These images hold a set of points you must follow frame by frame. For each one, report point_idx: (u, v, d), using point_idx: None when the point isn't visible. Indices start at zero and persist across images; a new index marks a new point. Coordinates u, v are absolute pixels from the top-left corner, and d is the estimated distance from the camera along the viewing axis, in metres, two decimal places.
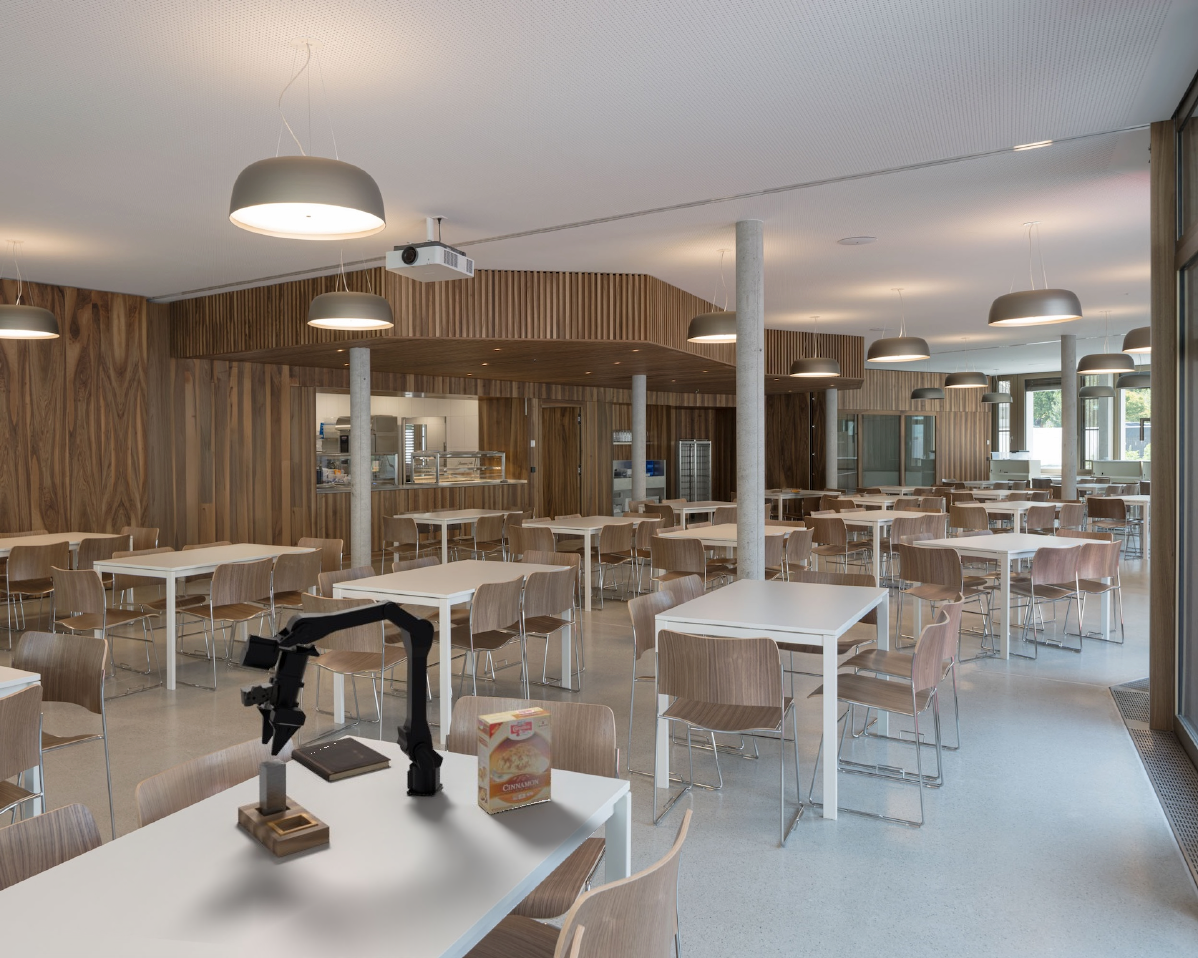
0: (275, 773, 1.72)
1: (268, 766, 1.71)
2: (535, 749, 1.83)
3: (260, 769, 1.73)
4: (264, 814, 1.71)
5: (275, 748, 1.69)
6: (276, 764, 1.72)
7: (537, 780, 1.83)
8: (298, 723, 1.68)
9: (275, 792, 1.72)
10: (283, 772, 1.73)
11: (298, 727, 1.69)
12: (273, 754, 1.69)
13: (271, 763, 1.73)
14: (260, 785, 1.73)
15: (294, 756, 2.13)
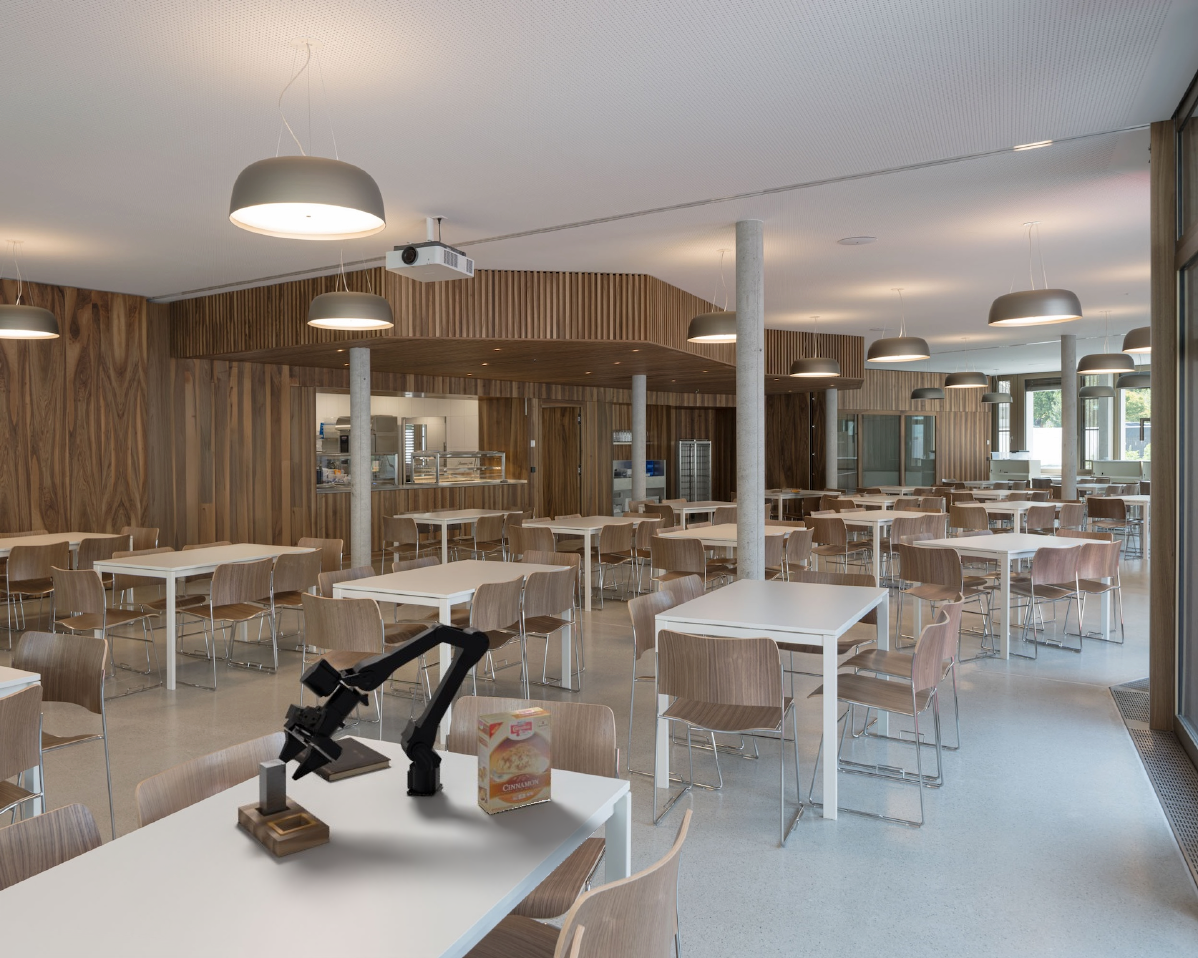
0: (275, 773, 1.72)
1: (268, 766, 1.71)
2: (535, 749, 1.83)
3: (260, 769, 1.73)
4: (264, 814, 1.71)
5: (298, 773, 1.72)
6: (276, 764, 1.72)
7: (537, 780, 1.83)
8: (334, 757, 1.73)
9: (274, 792, 1.72)
10: (283, 772, 1.73)
11: (330, 761, 1.73)
12: (294, 778, 1.72)
13: (271, 763, 1.73)
14: (260, 785, 1.73)
15: None
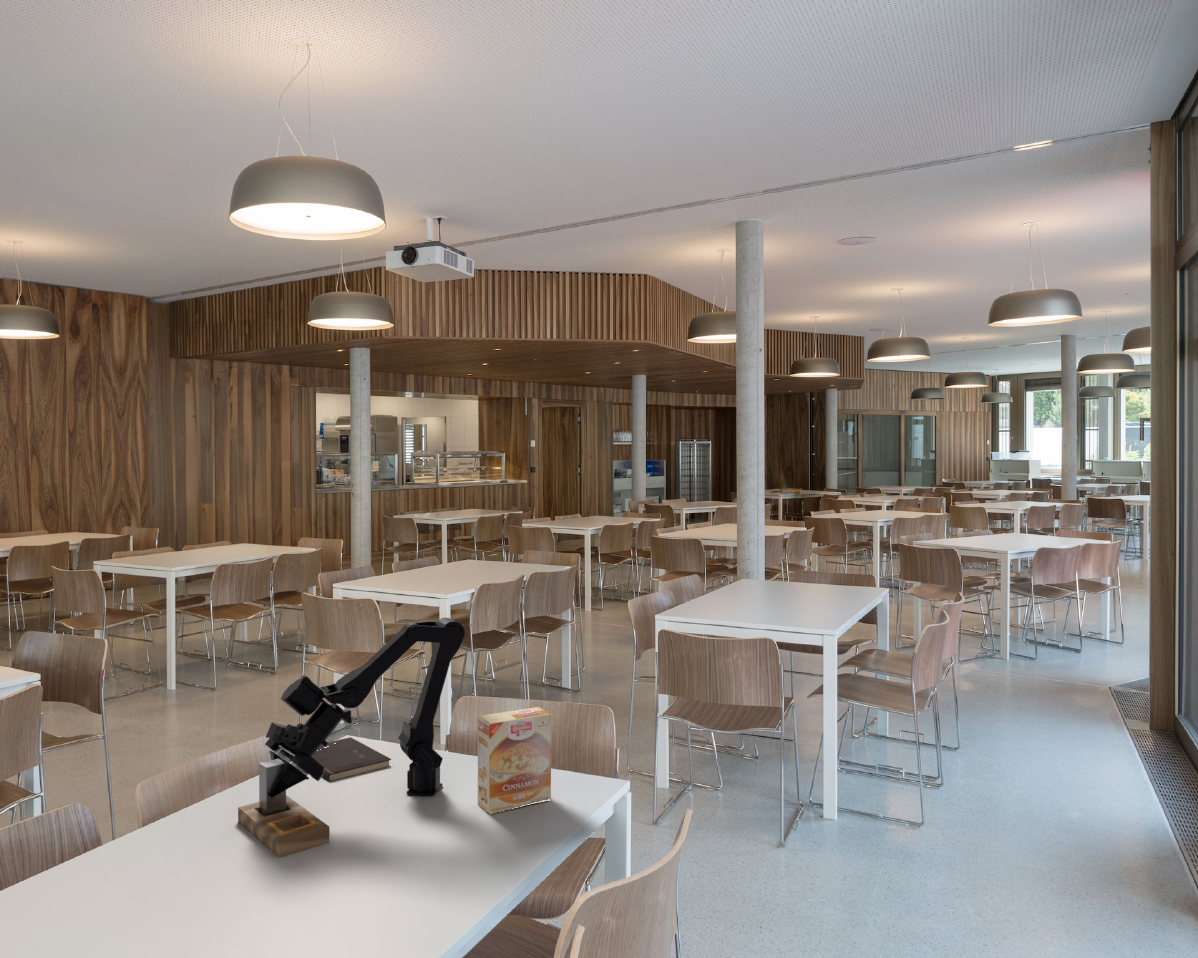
0: (275, 773, 1.72)
1: (268, 766, 1.71)
2: (535, 749, 1.83)
3: (260, 769, 1.73)
4: (264, 814, 1.71)
5: (275, 790, 1.71)
6: (276, 764, 1.72)
7: (537, 780, 1.83)
8: (316, 777, 1.70)
9: None
10: None
11: (307, 778, 1.73)
12: (270, 795, 1.71)
13: (271, 763, 1.73)
14: (260, 785, 1.73)
15: None
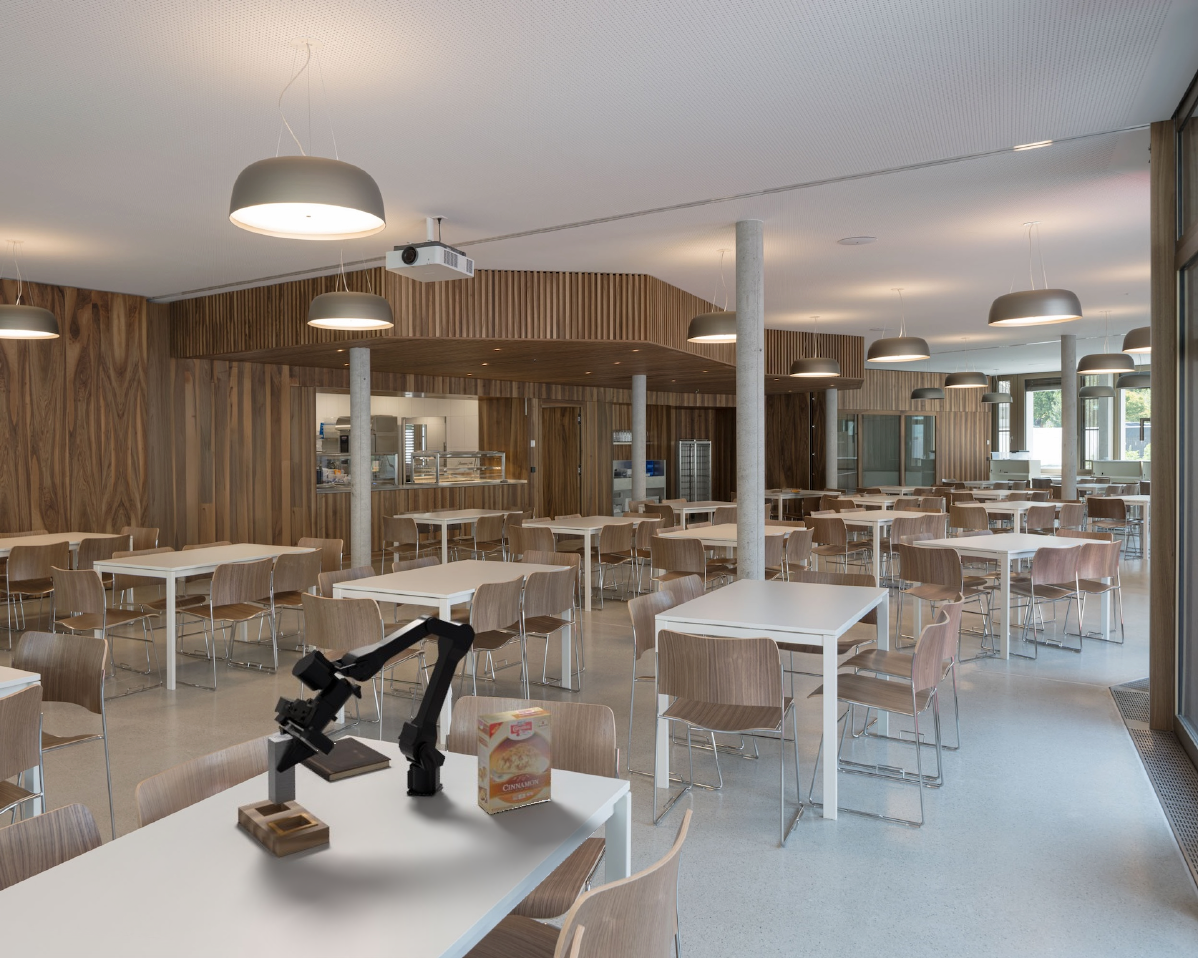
0: (284, 748, 1.68)
1: (277, 741, 1.67)
2: (535, 749, 1.83)
3: (269, 744, 1.69)
4: (273, 790, 1.68)
5: (284, 765, 1.67)
6: (284, 739, 1.69)
7: (537, 780, 1.83)
8: (325, 751, 1.66)
9: None
10: None
11: (316, 753, 1.69)
12: (279, 770, 1.67)
13: (280, 738, 1.69)
14: (269, 760, 1.70)
15: None
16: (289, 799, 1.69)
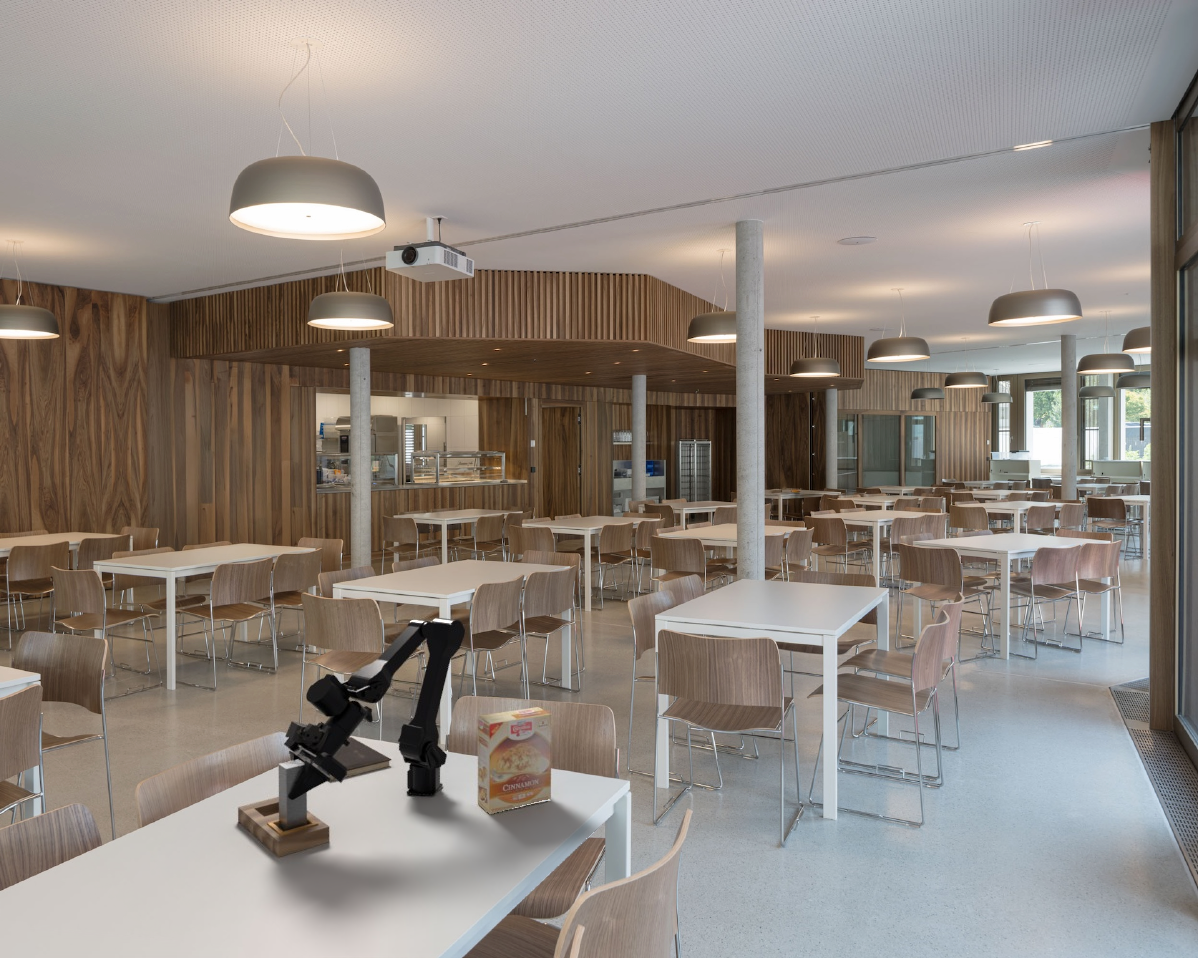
0: (296, 774, 1.64)
1: (288, 768, 1.63)
2: (535, 749, 1.83)
3: (279, 770, 1.65)
4: (284, 817, 1.64)
5: (296, 792, 1.63)
6: (296, 765, 1.65)
7: (537, 780, 1.83)
8: (338, 778, 1.62)
9: None
10: None
11: (329, 779, 1.65)
12: (291, 797, 1.63)
13: (291, 764, 1.65)
14: (279, 787, 1.65)
15: None
16: None
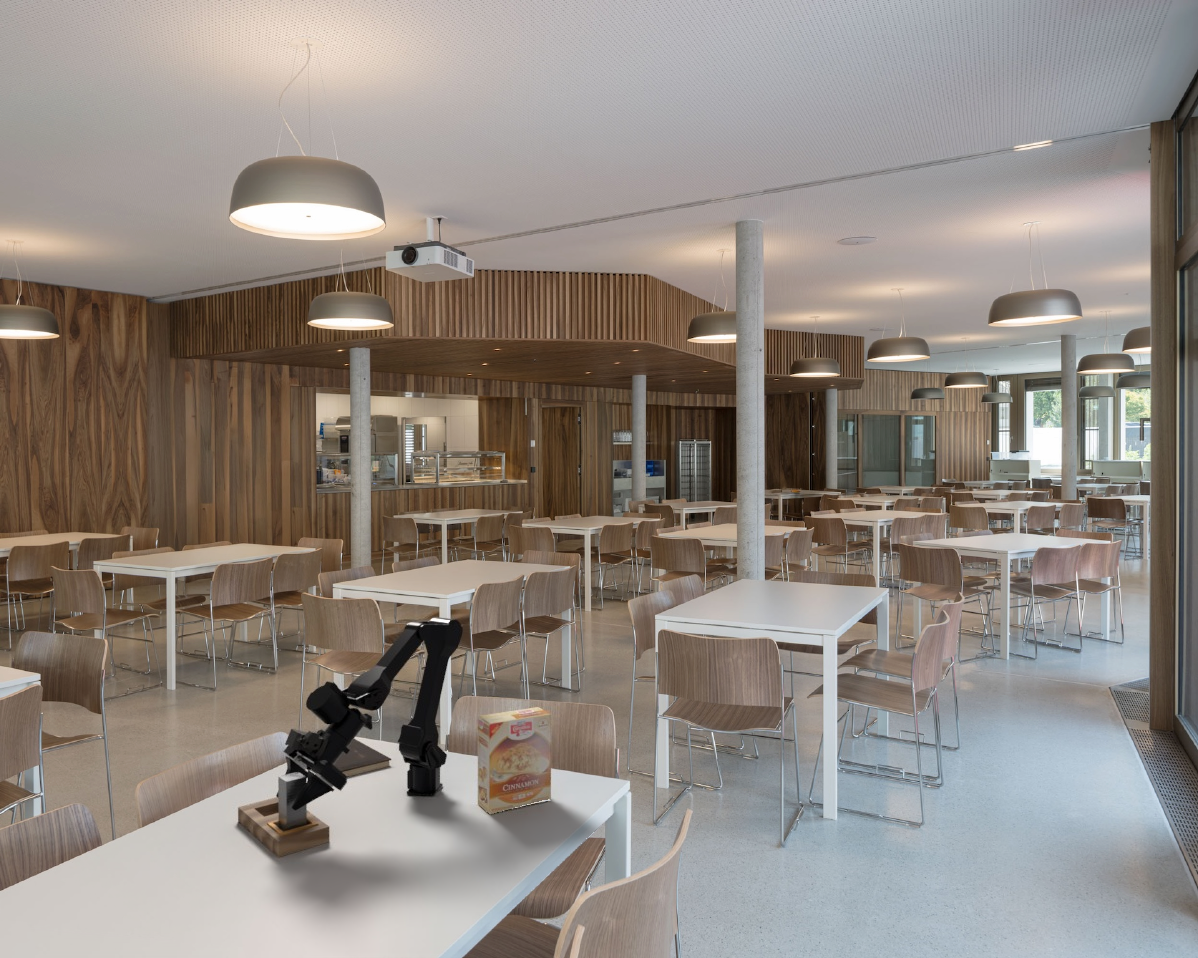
0: (295, 787, 1.64)
1: (288, 780, 1.63)
2: (535, 749, 1.83)
3: (279, 783, 1.65)
4: (284, 830, 1.64)
5: (299, 802, 1.62)
6: (296, 778, 1.65)
7: (537, 780, 1.83)
8: (338, 786, 1.62)
9: None
10: (303, 785, 1.65)
11: (332, 789, 1.64)
12: (294, 807, 1.62)
13: (291, 777, 1.65)
14: (279, 800, 1.65)
15: None
16: None
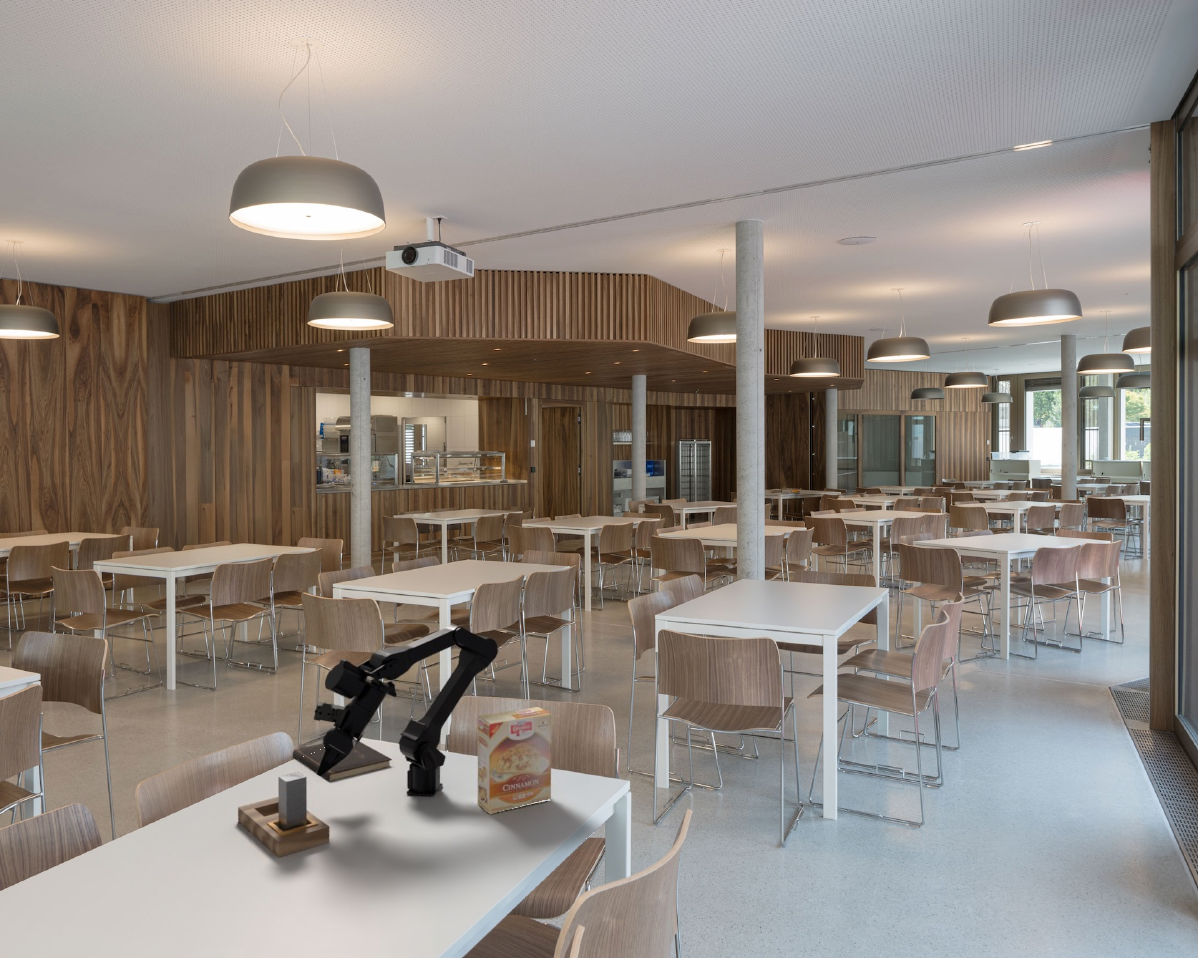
0: (295, 787, 1.64)
1: (288, 780, 1.63)
2: (535, 749, 1.83)
3: (279, 783, 1.65)
4: (284, 830, 1.64)
5: (321, 768, 1.74)
6: (296, 778, 1.65)
7: (537, 780, 1.83)
8: (343, 750, 1.71)
9: (295, 807, 1.64)
10: (303, 786, 1.65)
11: (344, 755, 1.72)
12: (318, 774, 1.74)
13: (291, 777, 1.65)
14: (279, 800, 1.65)
15: (295, 756, 2.13)
16: None
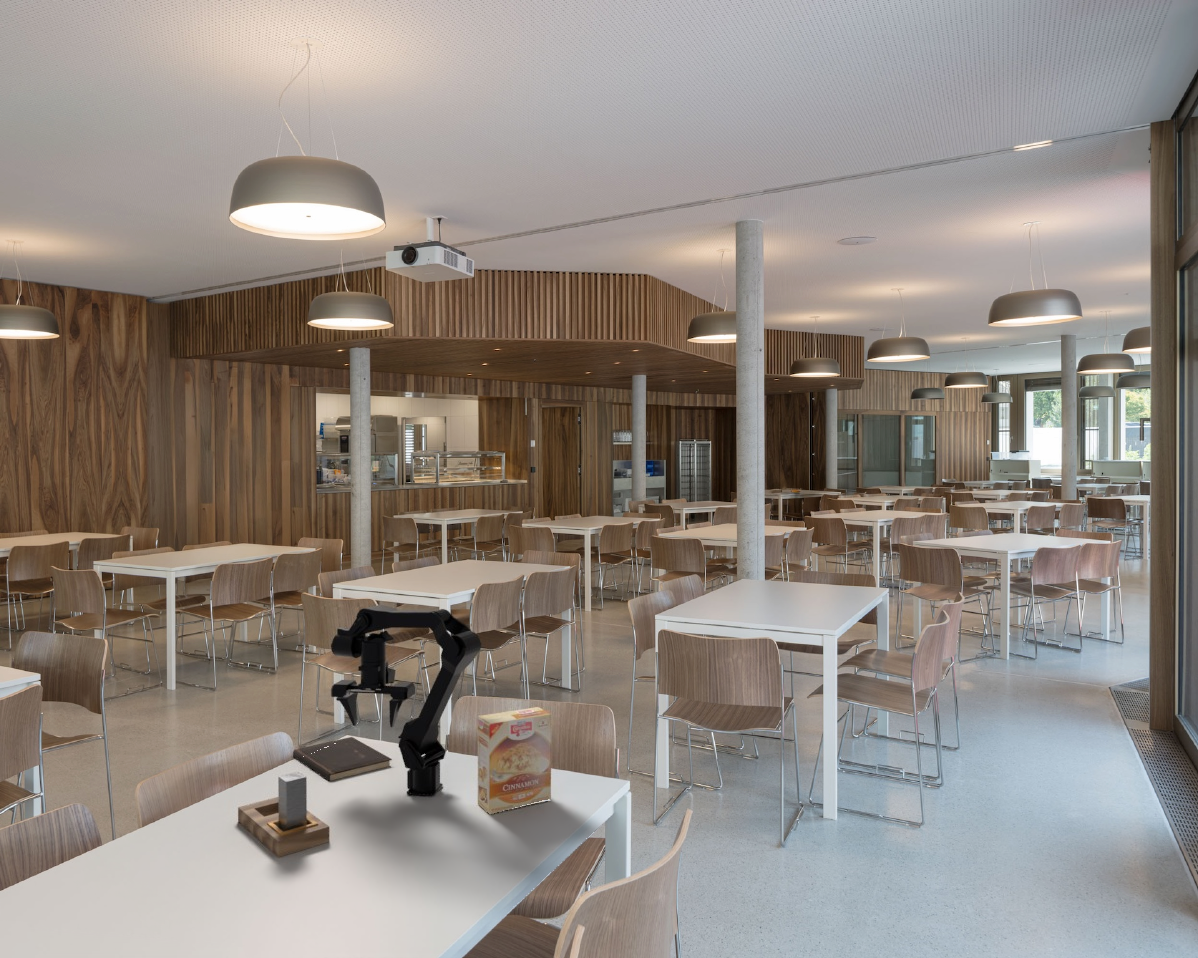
0: (295, 787, 1.64)
1: (288, 780, 1.63)
2: (535, 749, 1.83)
3: (279, 783, 1.65)
4: (284, 830, 1.64)
5: None
6: (296, 778, 1.65)
7: (537, 780, 1.83)
8: None
9: (295, 807, 1.64)
10: (303, 786, 1.65)
11: None
12: None
13: (291, 777, 1.65)
14: (279, 800, 1.65)
15: (295, 756, 2.13)
16: None
